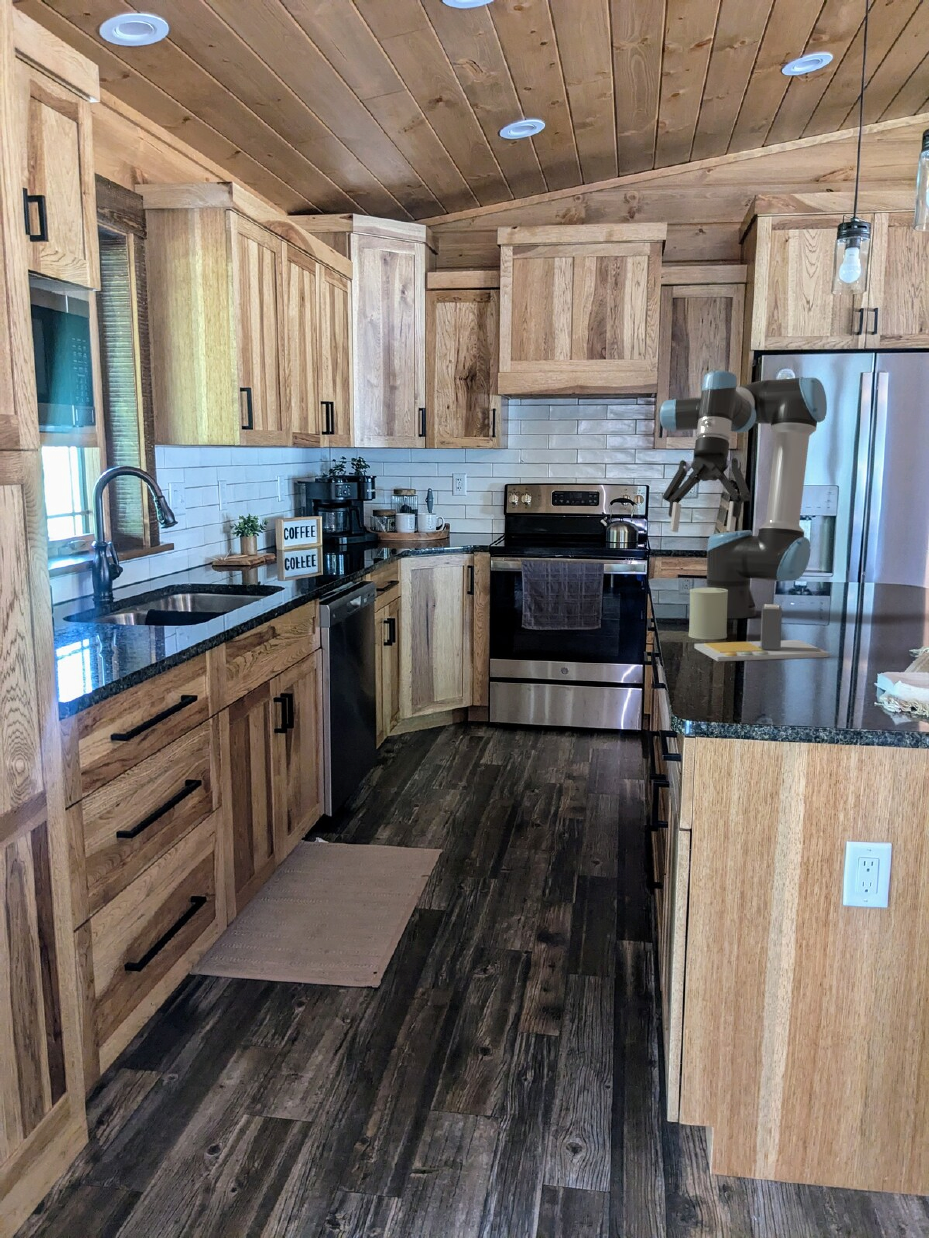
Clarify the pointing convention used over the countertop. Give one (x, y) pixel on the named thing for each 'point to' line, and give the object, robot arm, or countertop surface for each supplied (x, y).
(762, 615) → the grey upright block
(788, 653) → the panel
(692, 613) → the can
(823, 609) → the countertop surface
